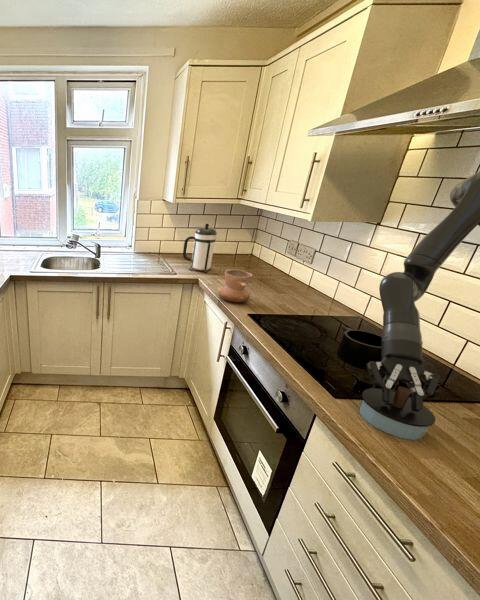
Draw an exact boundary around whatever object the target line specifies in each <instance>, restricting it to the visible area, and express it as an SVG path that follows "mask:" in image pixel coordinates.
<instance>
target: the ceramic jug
mask: <svg viewBox="0 0 480 600" xmlns="http://www.w3.org/2000/svg"><path fill="white" fill-rule="evenodd" d="M252 278H253V274H252V272H251V273H250V272H249V271H246V270H242V269H237V268H229V269H226V270H225V271H224V280H225V282H224V283H225V286H222V287H221V288H219V290H218V296H219V297H220V298H221V299H223V300H225V301H226V302H229V303H235V304H237V303H238V304H239V303H246V302H247V301H249V300H250V298H251V293H250V291H249V290H247V289H246V287H247V286H248V285H249V283H250V281H252Z"/></svg>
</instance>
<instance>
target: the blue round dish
mask: <svg viewBox="0 0 480 600" xmlns="http://www.w3.org/2000/svg"><path fill="white" fill-rule="evenodd" d="M359 414H360V416H361V417H362V418H363V419H364V420H365V421H366V422H368V423H369V424H370V425H371V426H372V427H374V428H376V429H377V430H380V431H381V432H383V433H386V434H388V435H390V436H392V437H393V436H394V437H396V438H400V439H404V440H413V441H414V440H420V439H422V438H423V437H424V436H426V434H427V432H428V430H429V428H430V427H431V426H428V427H418V426H412V425H407V424H404V423H400V422H398V421H395V420H392V419H390V418H388V417H386V416H384V415H382V414H380V413H378V412H377V411H375V410H374V409H372V408H371V407H370V406H368V405H367V404H366V403H365V401H364V400H363V399H362V401H361V404H360V407H359Z"/></svg>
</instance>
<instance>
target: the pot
mask: <svg viewBox="0 0 480 600" xmlns="http://www.w3.org/2000/svg"><path fill="white" fill-rule="evenodd" d="M342 331H343V332H344V333H343V335H342V338H341V341H340V343H339V346H338V349H337V352H336V356H337V358H338V359H340V360H341V361H343V362H344V363H346V364H348V365H350V366H352V367H356V368H358V369H362V370H367V371H368V369H367V366H366V364H367V363H369V362H371V361H375V362H380V361H381V360H382V357H381V351H382V335H380V334H377V333H375V332H371V331H367V330H362V329H353V328H351V327H343V329H342ZM380 370H383V369H382V368H381V367H380V369H379V371H380Z"/></svg>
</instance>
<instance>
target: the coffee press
mask: <svg viewBox="0 0 480 600" xmlns="http://www.w3.org/2000/svg"><path fill="white" fill-rule="evenodd" d="M194 235H195V236H193V235H192V236H188V237H187V238H186V239H185V240H184V243H183V250H182V254H183V255H182V257H183V259H184V260H185V261H187V262H190V267H189V269H188V271H191V272H192V271H193V270H198V271H203V274H208V270H209V269H211V270H212V261H213V255H214V249H215V244H216V239H219V236H218V232H217V230H216V229H215V228H214V227H210V224H209V223H205V224H204V226H202V227H201V226H200V227H198V228H196V230H195V231H194ZM191 240H193V248H192V257H191V258H190V257H188V256H187V248H188V242H189V241H191Z"/></svg>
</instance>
